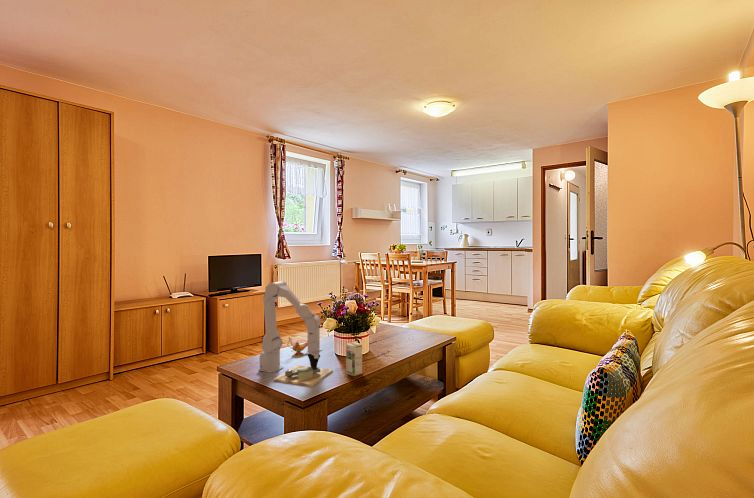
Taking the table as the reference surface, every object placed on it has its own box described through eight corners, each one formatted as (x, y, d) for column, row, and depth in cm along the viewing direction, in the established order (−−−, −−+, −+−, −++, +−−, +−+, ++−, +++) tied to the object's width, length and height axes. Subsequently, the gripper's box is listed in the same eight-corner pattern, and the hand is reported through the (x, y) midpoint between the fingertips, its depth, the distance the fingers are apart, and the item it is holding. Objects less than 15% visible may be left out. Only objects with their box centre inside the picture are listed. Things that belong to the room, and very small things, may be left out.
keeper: (298, 379, 169) (298, 370, 169) (297, 376, 173) (297, 368, 173) (312, 377, 172) (312, 369, 172) (311, 374, 175) (311, 366, 175)
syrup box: (345, 373, 179) (345, 343, 179) (354, 370, 183) (354, 341, 183) (353, 376, 175) (353, 346, 175) (362, 373, 179) (362, 343, 179)
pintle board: (273, 381, 170) (273, 376, 170) (297, 367, 189) (297, 363, 189) (311, 386, 163) (311, 382, 163) (332, 371, 182) (332, 367, 182)
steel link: (285, 377, 169) (285, 372, 169) (284, 374, 173) (284, 369, 173) (320, 372, 175) (320, 367, 175) (318, 369, 179) (318, 365, 179)
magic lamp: (317, 351, 217) (317, 332, 217) (291, 358, 204) (290, 338, 203) (310, 349, 221) (310, 330, 221) (284, 355, 208) (283, 336, 208)
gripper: (325, 344, 174) (325, 373, 174) (318, 336, 188) (319, 363, 188) (309, 345, 172) (310, 374, 172) (304, 338, 185) (304, 365, 185)
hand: (313, 369), depth 180 cm, fingers closed
